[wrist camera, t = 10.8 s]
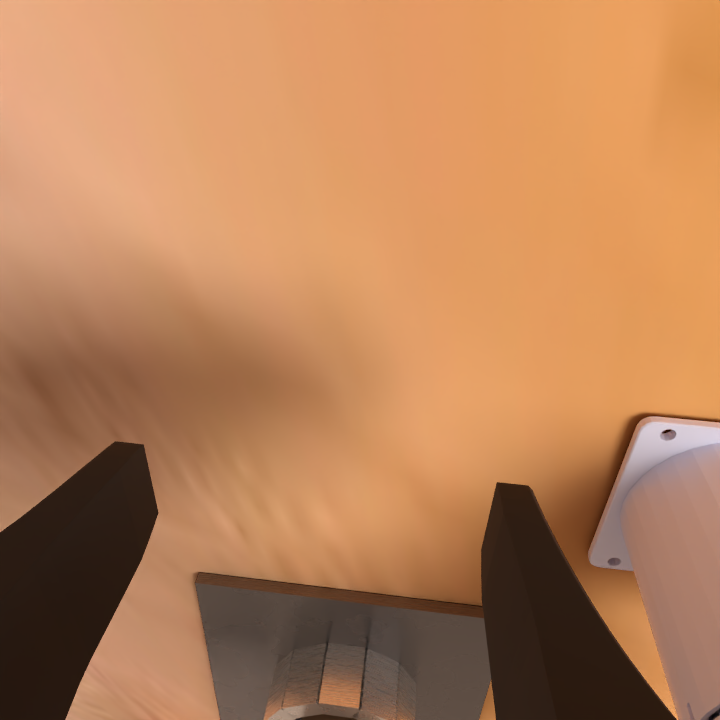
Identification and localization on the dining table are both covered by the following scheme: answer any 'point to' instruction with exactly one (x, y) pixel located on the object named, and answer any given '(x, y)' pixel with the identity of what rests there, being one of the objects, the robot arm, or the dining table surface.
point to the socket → (340, 653)
